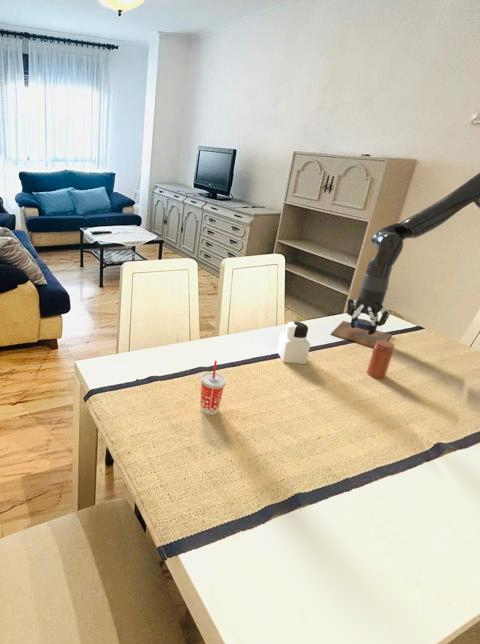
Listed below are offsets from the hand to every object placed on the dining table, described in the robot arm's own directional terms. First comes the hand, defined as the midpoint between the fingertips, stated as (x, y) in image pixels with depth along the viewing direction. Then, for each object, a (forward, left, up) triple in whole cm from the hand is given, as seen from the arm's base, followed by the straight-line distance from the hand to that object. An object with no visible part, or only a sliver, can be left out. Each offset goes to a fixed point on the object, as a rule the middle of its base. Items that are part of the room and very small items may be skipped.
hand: (361, 330), depth 140 cm
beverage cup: (+17, +78, -2) cm, 80 cm away
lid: (0, 0, +3) cm, 3 cm away
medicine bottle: (+12, +36, -2) cm, 38 cm away
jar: (-10, +27, -2) cm, 29 cm away
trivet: (0, 0, -2) cm, 2 cm away
